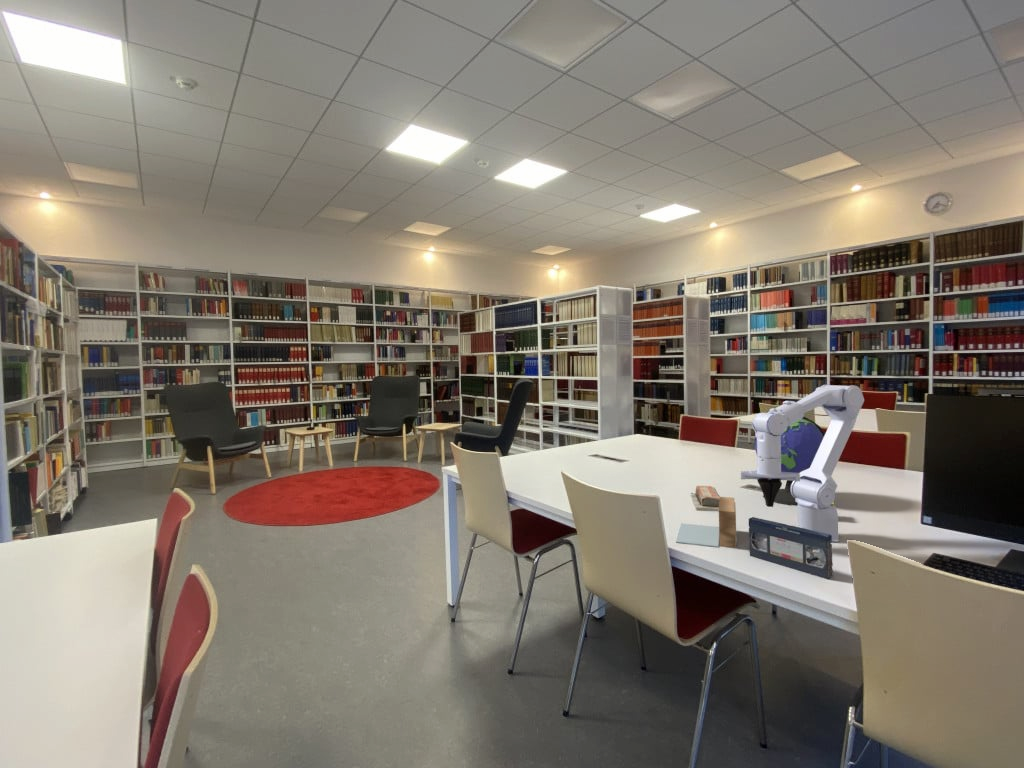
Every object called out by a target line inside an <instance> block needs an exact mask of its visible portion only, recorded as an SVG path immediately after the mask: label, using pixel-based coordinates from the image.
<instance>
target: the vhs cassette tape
mask: <svg viewBox="0 0 1024 768" xmlns="http://www.w3.org/2000/svg"><path fill="white" fill-rule="evenodd" d="M832 542H833V541H832V535H830V534H825V533H822V532H818V531H813V530H808V529H804V528H800V527H798V526H796V525H790V524H786V523H782V522H778V521H774V520H773V521H772V520H768V519H763V518H759V517H755V516H752V517H749V518H748V545H749V547H748V548H749V557H752V558H755V559H757V560H762V561H765V562H769V563H771V564H776V565H779V566H783V567H785V568H789V569H792V570H795V571H798V572H801V573H806V574H808V575H812V576H815V577H819V578H822V579H825V580H829V579H831V578H832V577H833V574H834V573H833V572H834V571H833V565H834V563H833V544H832Z"/></svg>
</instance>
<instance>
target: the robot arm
mask: <svg viewBox="0 0 1024 768" xmlns="http://www.w3.org/2000/svg"><path fill="white" fill-rule="evenodd" d="M864 402H865V398H864V394H863V392H862V389H861V388H860V387H859V386H857V385H853V384H852V385H833V384H832V385H831V384H823V385H821V386H819V387H816V388H815V391H813V392H811V393H810V394H807V395H806V396H805V397H803V398H801V399H799V400H797V401H793V400H785V401H783V402H782V404H781V405H779V406H777V407H775V408H773V407H772V408H769V411H768V412H759V413H758V414H757V415H755V416H754V418H753V421H752V422H751V427H752V430H753V431H754V432H755V437H756V438H757V454H756V457H757V461H756V462H757V467H756V468H757V470H740V471H739V479H740V480H744V481H745V480H756V481H757V483H758V485H759V487H760V489H761V492H762V495H764V497H763V499H764V501H765V502H764V503H765V506H766V507H768V508H773V507H774V503H775V502H774V500H775V497H776V495H777V493H778V491H779V489H781V488H782V486H783V482H782V481H787V480H792V481H793V482H792V484H791V489H790V490H791V494H792V496H793V497H794V498H795V501H796V502H797V503H798V506H797V527H800V528H804V529H808V530H813V531H818V532H822V533H825V534H830V535H832V542H835V543H839V542H840V540H839V516H838V515H839V514H838V510H837V507H836V506H835V505H834V506H830V505H831V504H832V503H834V502H835V499H836V490H837V488H838V484H837V482H836V480H835V479H833V477H832V475H833V474H834V471H835V469H836V467H837V465H838V462H839V460H840V459H841V456H842V453H843V451H844V450H845V447H846V444H847V442H848V440H849V437H850V436H851V433H852V431H853V429H854V427H855V425H856V421H857V418H858V416H859V413H860V411H861V409H862V407H863V405H864ZM819 407H821V408H822V409H823V411H824V412H825V413H826V415H827V416H829V418H830V420H831V421H830V423H829V425H828V428H827V429H826V432H824V433H825V436H824V438H823V440H822V442H821V444H820V447H819V449H818V451H817V453H816V455H815V458H814V460H813V462H812V464H811V466H810V468H809V469H806V470H804V471H802V472H800V473H792V472H781V434H783V433H784V431H785V429H786V428H787V427H788V426H789V425H791V424H793V423H795V422H797V421H799V420H801V419H802V418H803V417H805V413H807V412H811V411H812V410H814V409H817V408H819ZM755 437H754V438H755Z"/></svg>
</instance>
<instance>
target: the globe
mask: <svg viewBox="0 0 1024 768" xmlns="http://www.w3.org/2000/svg"><path fill="white" fill-rule="evenodd" d="M825 433H826V432H825V431H824V430H823V428H822V427H821V426H820V425H819V424H817V423H816V422H815V421H813V420H811V419H810V418H807V417H806V416H803V418H802V419H801V420H799V421H797V422H795V423H793V424H791V425H789V426H788V427H787V428H786V429H785V431H784V433H783V434H781V472H792V473H800V472H802V471H804V470H806V469H809V468H810V466H811V464H812V462H813V460H814V458H815V455H816V453H817V451H818V449H819V447H820V444H821V442H822V440H823V438H824V436H825ZM753 445H754V447H753V448H754V450H755V454H756V455H757V438H756V437H754V443H753ZM792 482H793V481H792V480H786V482H785V487H784V488H780V489H779V491H778V493H777V495H776V497H775V500H774V503H776V504H779V505H786V506H797V507H798V503H797V502H796V501H795V498H794V497H793V496H792V494H791V490H790V489H791V484H792ZM762 497H763V498H764V494H762Z"/></svg>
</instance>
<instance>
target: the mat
mask: <svg viewBox="0 0 1024 768" xmlns="http://www.w3.org/2000/svg"><path fill="white" fill-rule="evenodd" d="M675 543H677V544H683V545H684V544H685V545H695V546H703V547H710V548H712V547H713V548H719V547H720V540H719V526H716V525H715V526H714V525H713V526H712V525H702V524H701V525H700V524H692V523H683V522H682V523H680V526H679V529H678V533H677V536H676V540H675Z"/></svg>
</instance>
